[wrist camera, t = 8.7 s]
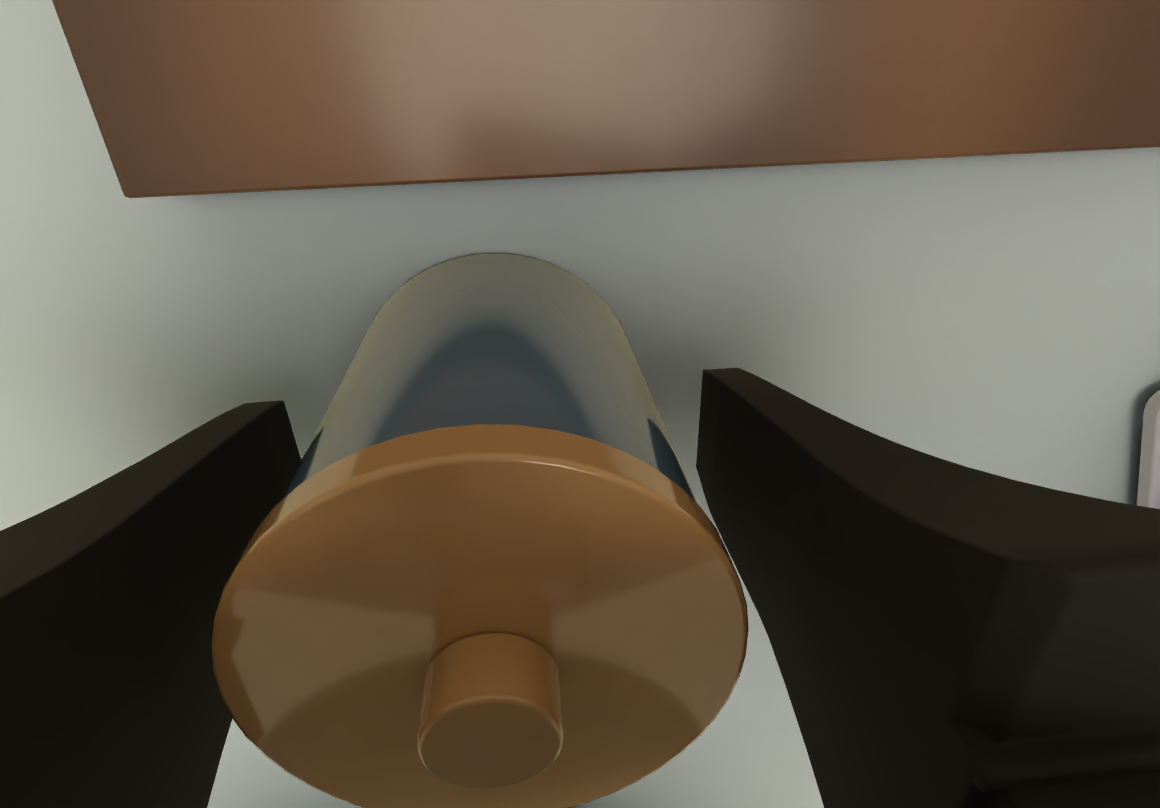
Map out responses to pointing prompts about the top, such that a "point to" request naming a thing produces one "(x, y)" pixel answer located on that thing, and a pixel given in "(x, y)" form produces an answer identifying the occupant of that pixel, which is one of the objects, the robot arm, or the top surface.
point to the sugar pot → (483, 563)
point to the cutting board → (596, 86)
